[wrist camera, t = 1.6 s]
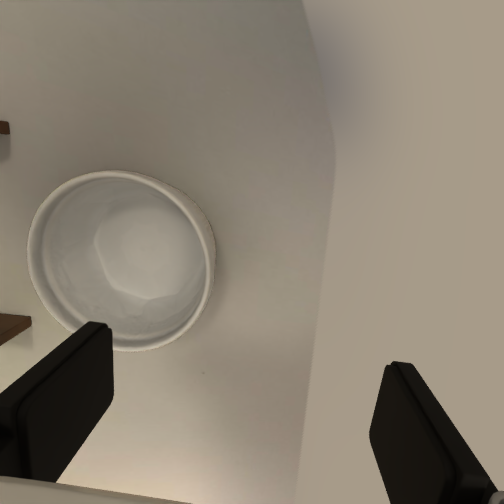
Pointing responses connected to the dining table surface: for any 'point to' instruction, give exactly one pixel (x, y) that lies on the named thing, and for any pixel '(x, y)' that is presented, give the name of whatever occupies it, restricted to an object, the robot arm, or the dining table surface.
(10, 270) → the dining table surface
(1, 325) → the frame
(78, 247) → the ramekin
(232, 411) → the dining table surface
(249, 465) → the dining table surface
